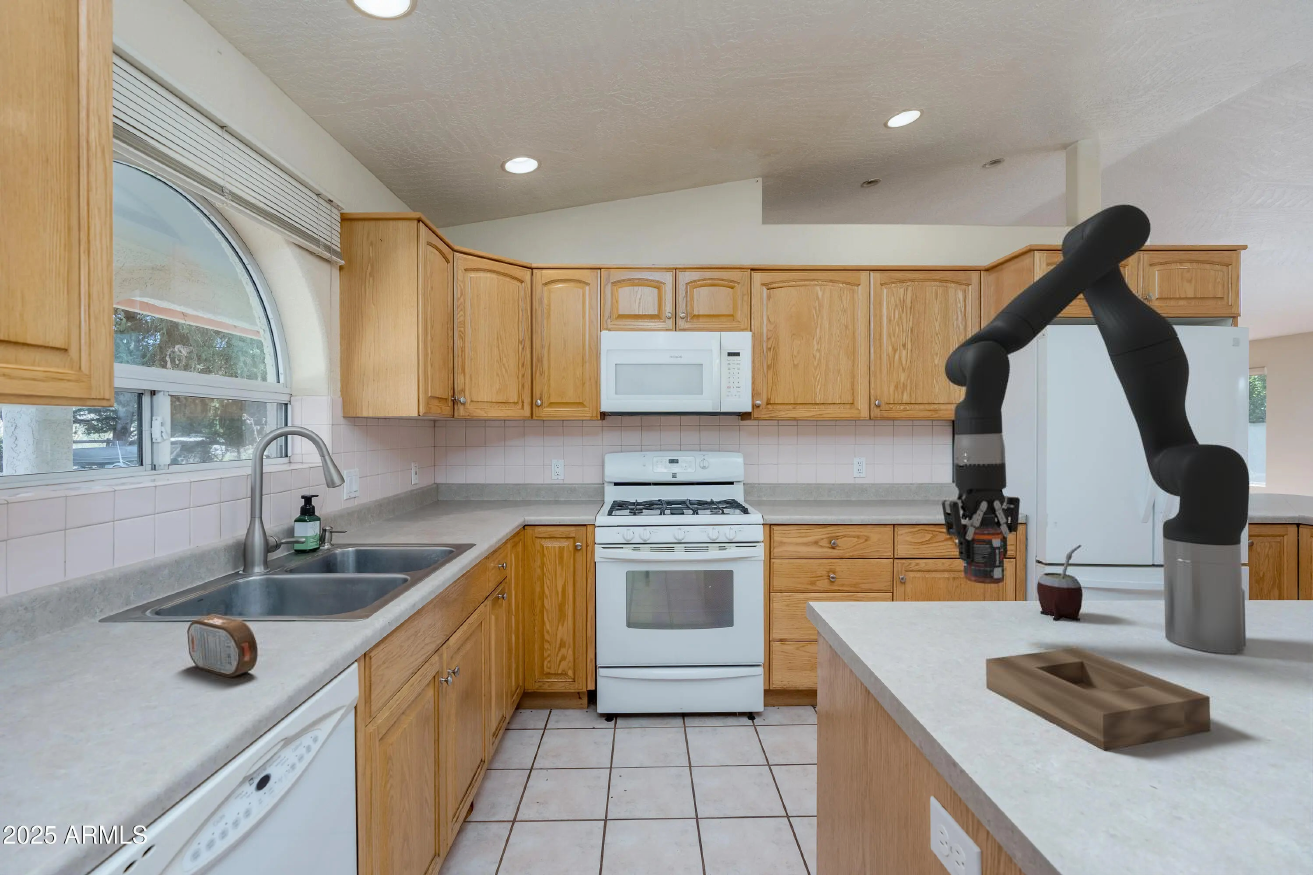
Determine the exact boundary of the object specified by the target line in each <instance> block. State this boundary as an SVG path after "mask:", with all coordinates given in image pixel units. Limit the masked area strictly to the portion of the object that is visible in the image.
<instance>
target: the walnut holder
mask: <svg viewBox="0 0 1313 875" xmlns="http://www.w3.org/2000/svg"><path fill="white" fill-rule="evenodd" d="M985 672H986V673H985V674H986V675H985V676H986V682H985V683H986V689H988V690H990V691H992V692H993V693H995V694H997V695H999V696H1001V697H1003V698H1005V699H1006V700H1009V701H1011V702H1013V703H1014V704H1016V705H1018V706H1020V707H1022V708H1023V709H1026V710H1027V711H1029V712H1031V713H1033V714H1035V715H1037V716H1038V717H1040V718H1042V719H1044V720H1046V721H1048V722H1050V723H1052V724H1053V725H1055V724H1056V726H1057V727H1059V728H1061V729H1063V730H1065V731H1067V733H1070V734H1072V735H1074V736H1076V737H1078V738H1080V739H1081V740H1083V741H1085V742H1087V743H1089V744H1091V745H1093V746H1095V747H1097V748H1098V749H1100V750H1102V751H1107V750H1112V749H1119V748H1124V747H1128V746H1135V745H1141V744H1145V743H1151V742H1155V741H1161V740H1162V741H1163V740H1167V739H1173V738H1179V737H1183V736H1184V737H1185V736H1189V735H1195V734H1201V733H1205V732H1211V700H1210V696H1208V695H1206V694H1203V693H1200V692H1198V691H1196V690H1192V689H1190V688H1187V687H1183V686H1181V685H1179V684H1176V683H1174V682H1171V681H1169V680H1165V679H1163V678H1161V677H1158V676H1155V675H1153V674H1150V673H1147V672H1144V671H1142V670H1139V669H1136V668H1134V667H1131V666H1128V665H1125V664H1123V663H1121V662H1117V661H1115V660H1113V659H1109V658H1107V657H1103V656H1101V655H1099V654H1095V653H1093V652H1091V651H1087V650H1085V649H1082V648H1080V647H1070V648H1064V649H1063V648H1062V649H1055V650H1048V651H1047V650H1046V651H1040V652H1032V653H1025V654H1024V653H1022V654H1015V655H1008V656H999V657H992V658H986V659H985Z"/></svg>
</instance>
